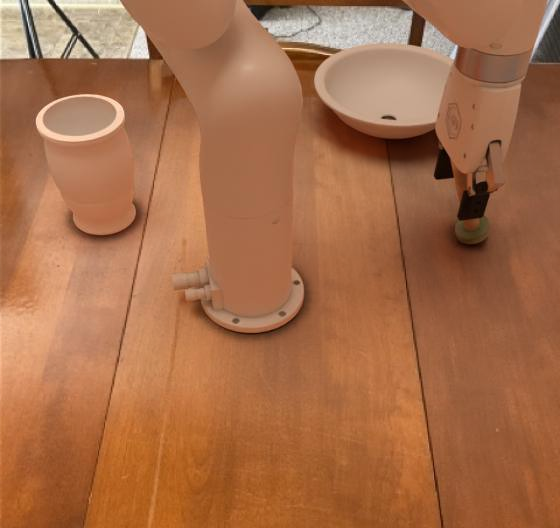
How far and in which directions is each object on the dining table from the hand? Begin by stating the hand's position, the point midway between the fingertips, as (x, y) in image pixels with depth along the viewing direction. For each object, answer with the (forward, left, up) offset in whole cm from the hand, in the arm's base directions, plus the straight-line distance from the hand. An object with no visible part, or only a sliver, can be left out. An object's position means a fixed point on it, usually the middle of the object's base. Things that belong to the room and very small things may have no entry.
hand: (457, 196), depth 84 cm
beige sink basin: (+1, +29, -7) cm, 30 cm away
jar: (-44, +14, -7) cm, 47 cm away
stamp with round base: (+4, 0, -6) cm, 7 cm away
